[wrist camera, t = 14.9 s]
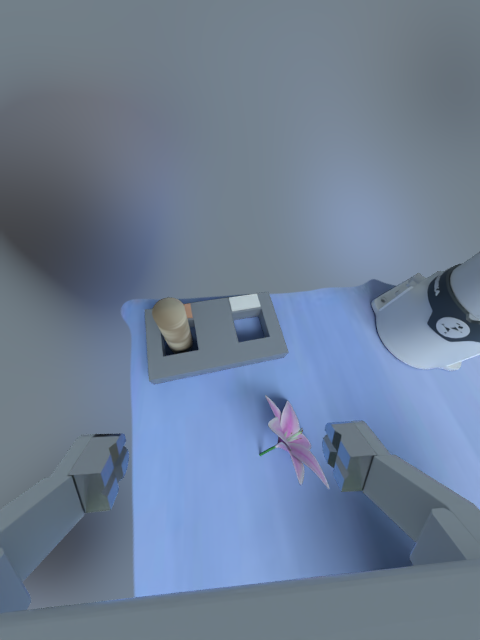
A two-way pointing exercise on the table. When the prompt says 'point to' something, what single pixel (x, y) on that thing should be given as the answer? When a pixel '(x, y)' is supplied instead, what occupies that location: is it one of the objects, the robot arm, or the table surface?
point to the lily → (293, 441)
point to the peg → (173, 324)
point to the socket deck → (216, 338)
